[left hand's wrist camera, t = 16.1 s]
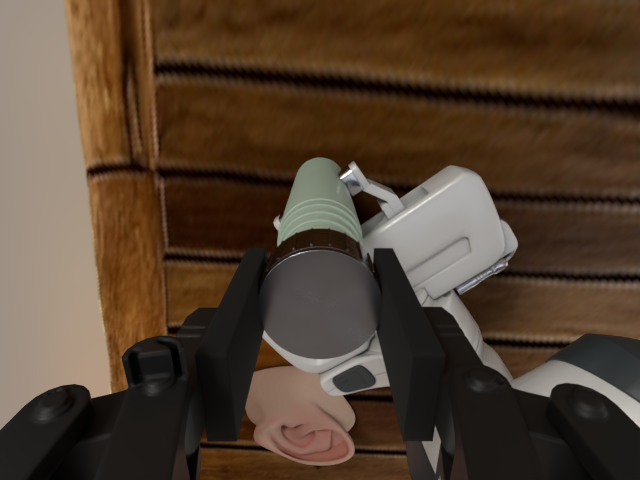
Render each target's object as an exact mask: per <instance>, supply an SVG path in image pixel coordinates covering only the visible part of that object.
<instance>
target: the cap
mask: <svg viewBox="0 0 640 480" xmlns="http://www.w3.org/2000/svg"><path fill="white" fill-rule="evenodd" d="M258 295H259V310H260V322H261V325H262V326H263V328H264V330H265V332H266V333H267V334H268V336H269V337H270V338H271V339H272V340H273V341H274V342H275V343H276V344H277V345H278V346H280V347H281V348H283V349H284V350H286V351H288V352H290V353H292V354H295V355H297V356H300V357H305V358H310V359H331V358H336V357H340V356H343V355H346V354H348V353H350V352H353V351H354V350H356V349H358V348H359V347H360V346H362V345H363V344H364V343H365V342H366V341H367V340H368V339H369V338H370V337H371V336H372V335H373V333H374V332H375V330H376V329H377V327H378V325H379V322H380V315H381V301H382V292H381V289H380V284H379V281H378V278H377V275H376V272H375V269H374V266H373V263H372V260H371V257H370V254H369V252H368V253H367V252H366V250H365V249H364V248H363V247H362V246H361V245H360V242H359V241H358V242H357V241H356V240H355V239H353V238H352V237H350V236H348V235H346V233H342V232H339V231H336V230H331V229H330V228H328V229H320V228H317V229H313V228H311V229H309V230H305V231H301V232H299V233H297V232H296V233H295V234H294V235H292V236H290V237H289V238H287V239H286V240H284V241H283V240H282V241H281V244H280V245H279V246H278V247H277V248H276V249H275V251H274V252H272V253H271V255H270V258H269V262H268V265H266V268H265V271H264V275H263V278H262V281H261V284H260V289H259V293H258Z"/></svg>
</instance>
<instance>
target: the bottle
mask: <svg viewBox="0 0 640 480" xmlns="http://www.w3.org/2000/svg"><path fill="white" fill-rule="evenodd" d="M339 171H341V168H340V167H339V166H338V165H337V164H336V163H335V162H334V161H332V160H330V159H327V158H314V159H311V160H308V161H307V162H305V163H304V164H303V165H302V166H301V167H300V169H299V170H298V172H297V175H296V178H295V181H294V184H293V187H292V190H291V193H290V196H289V199H288V202H287V205H286V208H285V212H284V215H283V218H282V221H281V224H280V227H279V231H278V240H277V247H278V246H279V245H280V244H281V241H282V240H283V241H284V240H286V239H287V238H289V237H290V236H292V235H294V234H295V233H296V232H297V233H299V232H301V231H305V230H309V229H311V228H313V229H317V228H320V229H328V228H330V229H331V230H336V231H339V232H342V233H346V235H348V236H350V237H352V238H353V239H355V240H356V241H357V242H358V241H359V242H360V245H361V246H362V247H363V238H362V230H361V226H360V223H359V220H358V217H357V214H356V211H355V208H354V205H353V202H352V199H351V195H350V192H349V190H348V189H347V185H345V184H344V183H343V182H342V181H341V179H340V178H339V176H338V172H339Z"/></svg>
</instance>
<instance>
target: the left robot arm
mask: <svg viewBox="0 0 640 480" xmlns="http://www.w3.org/2000/svg"><path fill="white" fill-rule="evenodd" d="M266 265H267V249H266V248H247V250H246V252H245V254H244V256H243V258H242V260H241V263H240V265H239V267H238V269H237V271H236V273H235V275H234V277H233V279H232V281H231V283H230V285H229V287H228V289H227V291H226V293H225V295H224V297H223V299H222V301H221V303H220V305H219V307H218V308H198V309H197V310H196V311H194V312H193V313H192V314H190V315H189V316H187V318H186V320H185V321H184V323H183V324H182V326H181V329H179V331H178V333H177V334H176V337H172V336H156V337H152V338H147V339H145V340H143V341H140V342H138V343H136V344H135V345H133V346H132V347H130V348H129V349H128V350H127V351H126V352H125V353H124V355H123V356H122V361H123V365H124V370H125V374H126V378H127V382H128V386H129V387H128V389H127V390H124V391H121V392H117V393H113V394H109V395H105V396H100V397H96V398H92V399H91V396H90V392H89V390H88V389H87V388H85V387H84V386H81V385H76V384H72V385H64V386H60V387H57V388H54V389H51V390H48V391H46V392H44V393H42V394H41V395H39V396H37V397H35V398H34V399H33V400H31V401H30V402H29V403H28V404H26V405H25V406H24V407H23V408H22V409H21V410H20V411H19V412H18V413H17V414H16V415H15V416H14V417H13V418H12V419H11V420H10V421H9V422H8V423H7V424H6V425H5V426H4V427H3V428H2V429H1V430H0V480H199V479H200V468H201V450H200V440H201V437H202V434H203V431H204V429H205V427H206V434H207V441H237V439H238V434H239V430H240V426H241V422H242V418H243V414H244V410H245V406H246V402H247V398H248V394H249V390H250V386H251V381H252V377H253V373H254V369H255V365H256V361H257V357H258V353H259V349H260V345H261V341H262V337H263V333H264V328H263V326H262V325H261V322H260V310H259V295H258V293H259V289H260V284H261V281H262V278H263V275H264V271H265V268H266ZM373 266H374V269H375V272H376V275H377V278H378V281H379V284H380V289H381V292H382V301H381V315H380V322H379V325H378V327H377V329H376V331H377V335H378V339H379V344H380V348H381V352H382V356H383V360H384V364H385V368H386V372H387V376H388V380H389V384H390V388H391V392H392V397H393V401H394V405H395V409H396V413H397V417H398V421H399V425H400V429H401V433H402V437H403V441H433V436H434V429H435V426H436V429H437V432H438V434H439V437H440V440H441V443H440V449H439V456H438V462H437V468H436V474H435V478H436V479H440V478H441V480H640V427H639V426H638V425H637V424H636V423H635V422H634V421H633V420H632V419H631V418H630V417H629V416H628V415H627V414H626V413H625V412H624V411H623V410H622V409H621V408H620V407H619V406H618V405H616V404H615V403H614V402H613V401H611V400H610V399H609V398H608V397H606V396H605V395H603V394H601V393H599V392H597V391H596V390H594V389H592V388H589V387H585V386H582V385H579V384H572V383H563V384H557V385H556V386H555V387H554V388H553V389H552V390H551V394H550V397H546V396H542V395H538V394H533V393H529V392H525V391H521V390H518V389H515V388H512V386H511V384H510V383H509V381H508V380H507V378H506V377H504V376H503V375H502V374H501V373H500V372H498V371H497V370H495V369H493V368H491V367H489V366H486V365H484V364H483V363H482V361H481V359H480V358H479V356H478V355H477V353H476V351H475V350H474V348H473V347H472V345H471V343H470V342H469V340H468V339H467V337H466V336H465V334H464V332H463V331H462V329H461V328H460V327H459V324H458V322H457V321H456V319H455V318H454V316H453V315H452V314H450V313H449V312H448V311H446V310H445V309H444V308H442V307H422V306H421V304H420V302H419V300H418V298H417V296H416V294H415V292H414V290H413V288H412V286H411V284H410V282H409V280H408V278H407V276H406V274H405V272H404V270H403V268H402V266H401V264H400V262H399V260H398V258H397V256H396V254H395V252H394V250H393V248H374V255H373Z"/></svg>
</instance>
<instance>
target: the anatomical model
mask: <svg viewBox="0 0 640 480" xmlns="http://www.w3.org/2000/svg"><path fill="white" fill-rule="evenodd" d="M245 409H246V412H247V415H248V417H249V419H250V420H251V421H252V422H253V423H254V424H256V428H255V431H254V439H255V441H256V443H257V444H259V445H261V446H263V447H265V448H267V449H269V450H271V451H273V452H275V453H277V454H279V455H281V456H284V457H286V458H288V459H291V460H293V461H296V462H299V463H303V464H308V465H334V464H338V463H342V462H344V461H346V460H348V459H350V458H351V457H352V456H353V454H354V452H355V446H354V443H353V440H352V438H351V437H350V435H349V434H348V431H349V430H350V429H351V428H352V426H353V425H354V423H355V414H354V412H353V410H352V408H351V406H350V405H349V403H348V402H347V400H346V399H345V398H344V397H343V396H337V397H333V396H330V395H328V394H327V393H326V392H325V391H324V390H323V389H322V387H321V385H320V379H319V373H307V372H304V371H302V370H300V369H298V368H296V367H295V366H282V367H274V368H268V369H263V370H259V371H255V372H254V373H253V377H252V381H251V386H250V390H249V394H248V398H247V402H246V406H245Z"/></svg>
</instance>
